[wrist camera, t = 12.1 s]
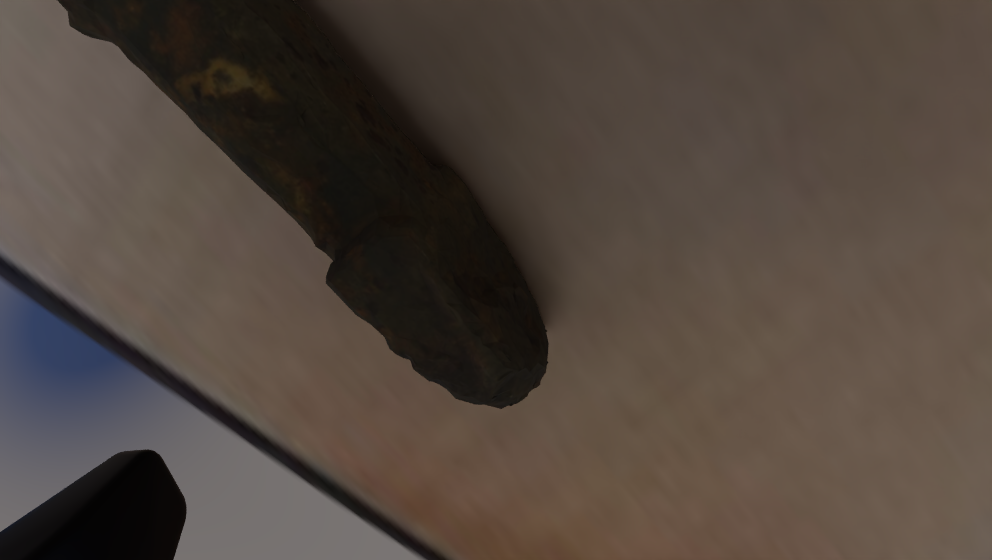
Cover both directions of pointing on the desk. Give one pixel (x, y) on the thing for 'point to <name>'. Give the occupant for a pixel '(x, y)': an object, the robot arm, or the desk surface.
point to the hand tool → (343, 183)
